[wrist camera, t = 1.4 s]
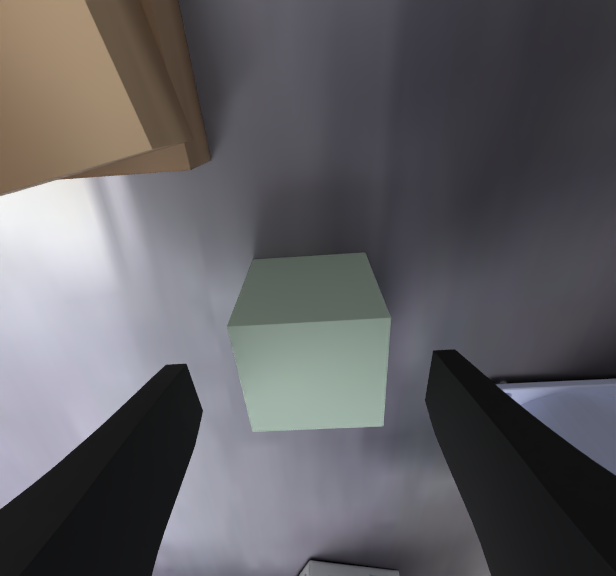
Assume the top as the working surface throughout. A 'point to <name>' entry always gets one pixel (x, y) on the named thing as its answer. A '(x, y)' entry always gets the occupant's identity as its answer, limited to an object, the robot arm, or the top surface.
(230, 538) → the top surface
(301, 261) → the block
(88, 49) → the tower top
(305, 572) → the skincare box
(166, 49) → the tower base
